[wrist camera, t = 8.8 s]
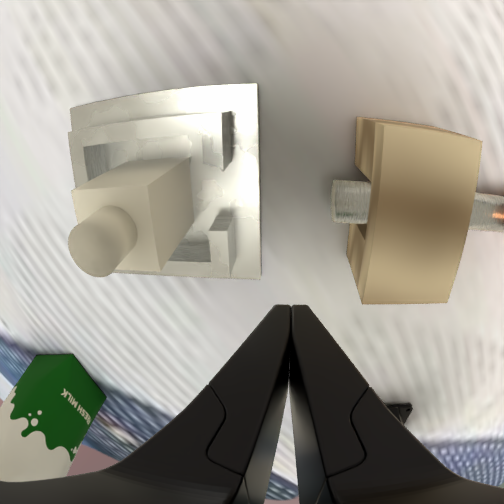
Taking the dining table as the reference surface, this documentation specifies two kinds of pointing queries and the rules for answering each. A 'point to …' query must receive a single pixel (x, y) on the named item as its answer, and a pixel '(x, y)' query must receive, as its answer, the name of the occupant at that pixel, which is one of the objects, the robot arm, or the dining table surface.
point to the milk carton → (46, 419)
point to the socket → (201, 166)
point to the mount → (412, 210)
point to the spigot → (132, 216)
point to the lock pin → (358, 198)
